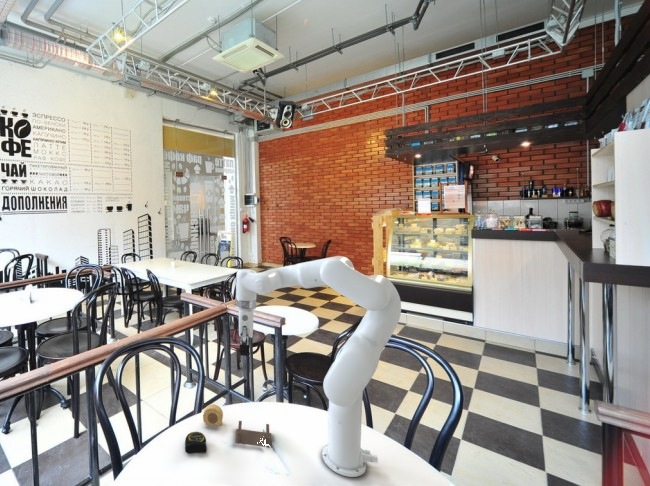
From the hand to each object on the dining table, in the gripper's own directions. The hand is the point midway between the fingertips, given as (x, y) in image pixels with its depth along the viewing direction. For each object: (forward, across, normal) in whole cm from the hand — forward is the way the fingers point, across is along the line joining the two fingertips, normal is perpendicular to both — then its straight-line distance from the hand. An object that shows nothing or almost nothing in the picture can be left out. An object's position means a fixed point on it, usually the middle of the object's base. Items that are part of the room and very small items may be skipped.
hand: (244, 349), depth 121 cm
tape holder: (+26, -10, -4) cm, 28 cm away
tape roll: (+26, -5, +8) cm, 27 cm away
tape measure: (+26, -18, +14) cm, 35 cm away
